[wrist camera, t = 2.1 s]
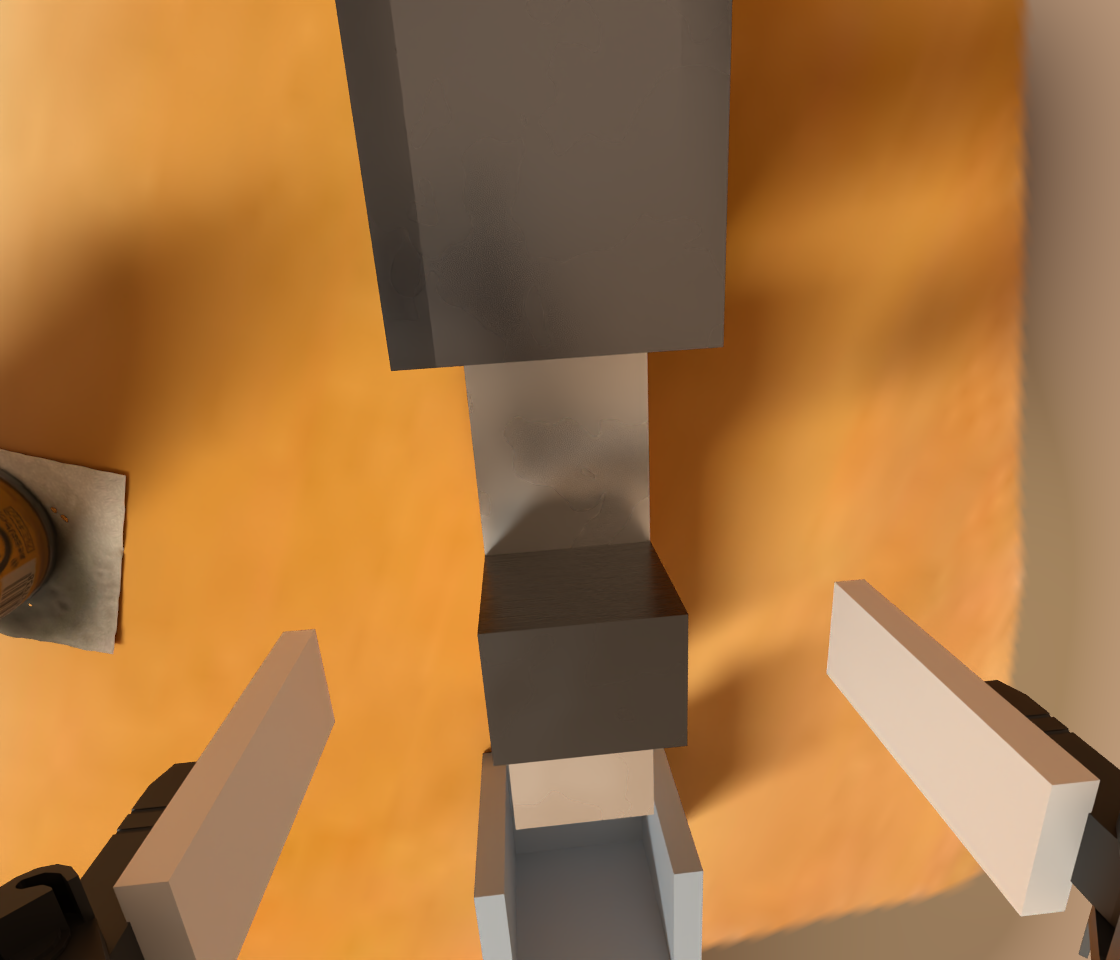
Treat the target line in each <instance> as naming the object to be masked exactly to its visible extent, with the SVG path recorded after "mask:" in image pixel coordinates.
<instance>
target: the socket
mask: <svg viewBox="0 0 1120 960" xmlns="http://www.w3.org/2000/svg"><path fill="white" fill-rule="evenodd" d="M653 774H654V814H653V815H644V816H635V817H626V818H617V819H608V820H599V821H590V822H581V823H572V824H563V825H554V826H545V827H536V828H527V829H518V830H516V827H515V818H514V809H513V800H512V791H511V782H510V773H509V765H500V766H494V765H493V757H492V753H483V759H482V775H481V791H480V808H479V824H478V840H477V856H476V872H475V888H474V902H475V908H476V915H477V922H478V929H479V935H480V942H481V949H482V955H483V960H701V951H702V902H703V869H702V866H701V863H700V860H699V857H698V853H697V850H696V847H695V844H694V841H693V838H692V835H691V832H690V828H689V825H688V822H687V819H686V816H685V813H684V810H683V807H682V804H681V800H680V797H679V794H678V791H677V788H676V785H675V782H674V779H673V775H672V772H671V769H670V766H669V763H668V760H667V757H666V754H665V750H664V748H661V749H653Z"/></svg>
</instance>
